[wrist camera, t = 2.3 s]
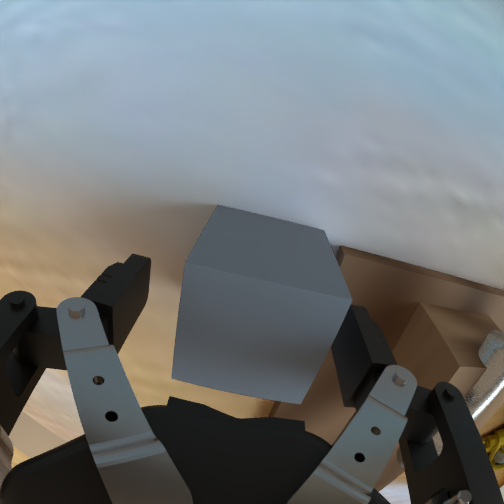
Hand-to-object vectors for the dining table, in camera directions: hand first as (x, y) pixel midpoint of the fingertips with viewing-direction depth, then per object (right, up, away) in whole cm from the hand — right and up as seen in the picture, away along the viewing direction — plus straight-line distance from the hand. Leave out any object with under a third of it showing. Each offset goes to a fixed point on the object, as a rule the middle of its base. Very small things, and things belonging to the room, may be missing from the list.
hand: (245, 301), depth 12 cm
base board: (+9, -12, +8) cm, 17 cm away
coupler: (+1, +1, +3) cm, 3 cm away
